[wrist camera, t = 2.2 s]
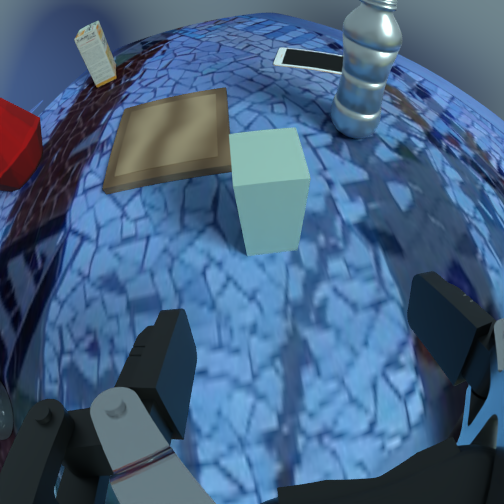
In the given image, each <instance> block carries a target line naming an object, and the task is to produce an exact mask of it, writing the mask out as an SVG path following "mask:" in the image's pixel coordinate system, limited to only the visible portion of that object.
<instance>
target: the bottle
mask: <svg viewBox="0 0 504 504" xmlns="http://www.w3.org/2000/svg"><path fill="white" fill-rule="evenodd" d="M42 154H43V146H42V137H41V125H40V118H39V117H37V116H35V115H34V114H32V113H30V112H28V111H26V110H24V109H22V108H20V107H18V106H16V105H14V104H12V103H10V102H8V101H6V100H4V99H2V98H0V190H1V191H15V190H18V189H20V188H21V187H22V186H23V185H24V184H25V183H26V182H27V181H28V180H29V179H30V177H31V176H32V174H33V173H34V172H35V171H36V169H37V167H38V165H39V163H40V161H41V158H42Z"/></svg>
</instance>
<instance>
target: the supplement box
mask: <svg viewBox="0 0 504 504" xmlns="http://www.w3.org/2000/svg"><path fill="white" fill-rule="evenodd" d="M74 41H75V43H76V45H77V47H78V49H79V51H80V53H81V55H82V58H83V60H84V62H85V64H86V66H87V68H88V70H89V72H90V75H91V77H92V79H93V81H94V83H95V85H96V87H100V86H102V85H104V84H106V83H108V82H110V81H112V80H114V79H116V64H115V61H114V59H113V56H112V54H111V51H110V49H109V46H108V44H107V41H106V39H105V36H104V33H103V31H102V29H101V26H100V23H99V21H96V22H94V23H92V24H90V25H88V26H86V27H84V28H83V29H81V30H79V32H78V34H77V36H76V38H75V39H74Z"/></svg>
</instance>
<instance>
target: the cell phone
mask: <svg viewBox="0 0 504 504" xmlns="http://www.w3.org/2000/svg"><path fill="white" fill-rule="evenodd" d="M273 65H275V66H285V67H295V68H303V69H310V70H317V71H323V72H329V73H335V74H340V75H341V74H342V66H343V56H341V55H335V54H329V53H323V52H316V51H309V50H301V49H292V48H279V50H278V53H277V55H276V58H275V60H274V63H273Z"/></svg>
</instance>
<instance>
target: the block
mask: <svg viewBox="0 0 504 504" xmlns="http://www.w3.org/2000/svg"><path fill="white" fill-rule="evenodd" d="M229 141H230V154H231V166H232V178H233V188H234V193H235V198H236V203H237V208H238V213H239V218H240V223H241V228H242V233H243V238H244V243H245V247H246V252H247V256H252V255H260V254H268V253H277V252H285V251H293V250H297V249H298V244H299V239H300V234H301V229H302V223H303V218H304V213H305V207H306V202H307V196H308V190H309V184H310V175H309V171H308V167H307V164H306V160H305V157H304V154H303V150H302V147H301V143H300V140H299V137H298V134H297V130H296V128H283V129H272V130H261V131H252V132H243V133H235V134H229Z"/></svg>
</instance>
